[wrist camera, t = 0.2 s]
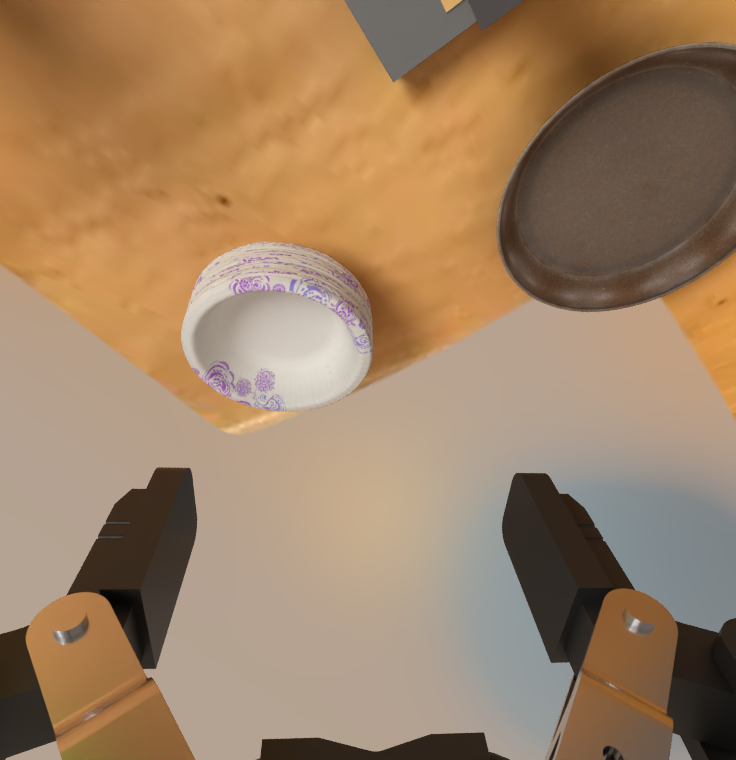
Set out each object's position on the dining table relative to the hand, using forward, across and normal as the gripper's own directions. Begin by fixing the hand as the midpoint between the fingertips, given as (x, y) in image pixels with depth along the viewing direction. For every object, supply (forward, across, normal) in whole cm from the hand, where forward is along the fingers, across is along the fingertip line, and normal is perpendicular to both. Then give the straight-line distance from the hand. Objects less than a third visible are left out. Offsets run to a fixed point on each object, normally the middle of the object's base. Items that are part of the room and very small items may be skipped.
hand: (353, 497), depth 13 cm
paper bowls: (+36, +4, +7) cm, 36 cm away
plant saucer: (+31, -22, -4) cm, 39 cm away
